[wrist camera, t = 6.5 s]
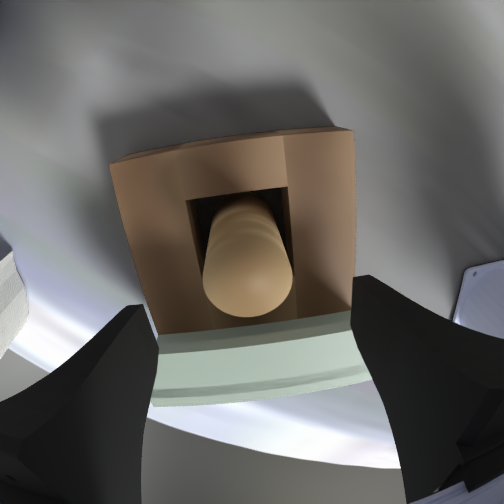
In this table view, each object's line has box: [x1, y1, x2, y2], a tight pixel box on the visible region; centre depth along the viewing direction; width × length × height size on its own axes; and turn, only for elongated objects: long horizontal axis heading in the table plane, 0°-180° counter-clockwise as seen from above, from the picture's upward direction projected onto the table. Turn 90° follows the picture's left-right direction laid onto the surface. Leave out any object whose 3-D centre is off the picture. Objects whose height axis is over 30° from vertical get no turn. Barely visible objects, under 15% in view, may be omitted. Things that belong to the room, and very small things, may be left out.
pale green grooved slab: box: [150, 310, 373, 407], centre depth 18 cm, size 12×4×8 cm, turn 97°
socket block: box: [109, 126, 356, 335], centre depth 18 cm, size 12×12×3 cm
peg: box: [203, 191, 293, 317], centre depth 16 cm, size 4×4×7 cm
